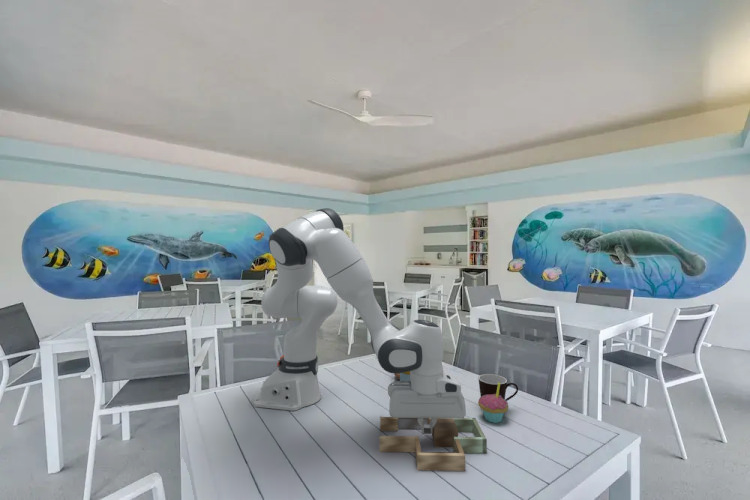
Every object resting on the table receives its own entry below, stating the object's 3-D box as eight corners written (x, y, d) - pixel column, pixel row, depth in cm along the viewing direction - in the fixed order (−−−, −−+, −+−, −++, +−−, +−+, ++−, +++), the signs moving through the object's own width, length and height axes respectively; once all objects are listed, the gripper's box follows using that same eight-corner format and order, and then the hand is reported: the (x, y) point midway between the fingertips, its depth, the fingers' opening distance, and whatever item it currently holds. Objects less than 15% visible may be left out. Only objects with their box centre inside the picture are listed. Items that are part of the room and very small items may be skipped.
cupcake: (507, 414, 105) (507, 376, 105) (508, 428, 97) (508, 386, 97) (478, 410, 108) (478, 373, 108) (477, 423, 100) (477, 382, 100)
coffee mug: (476, 413, 107) (475, 381, 107) (481, 402, 114) (481, 372, 114) (516, 421, 101) (515, 388, 101) (518, 409, 109) (518, 378, 109)
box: (378, 469, 79) (378, 454, 79) (380, 417, 104) (380, 405, 104) (495, 471, 79) (495, 456, 79) (469, 417, 104) (469, 406, 104)
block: (434, 447, 88) (434, 429, 88) (431, 434, 94) (431, 418, 94) (458, 447, 88) (458, 430, 88) (453, 435, 94) (453, 418, 94)
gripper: (387, 385, 88) (388, 438, 88) (467, 386, 88) (467, 440, 88) (387, 376, 95) (388, 426, 95) (462, 377, 94) (462, 427, 94)
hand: (426, 432), depth 91 cm, fingers closed
